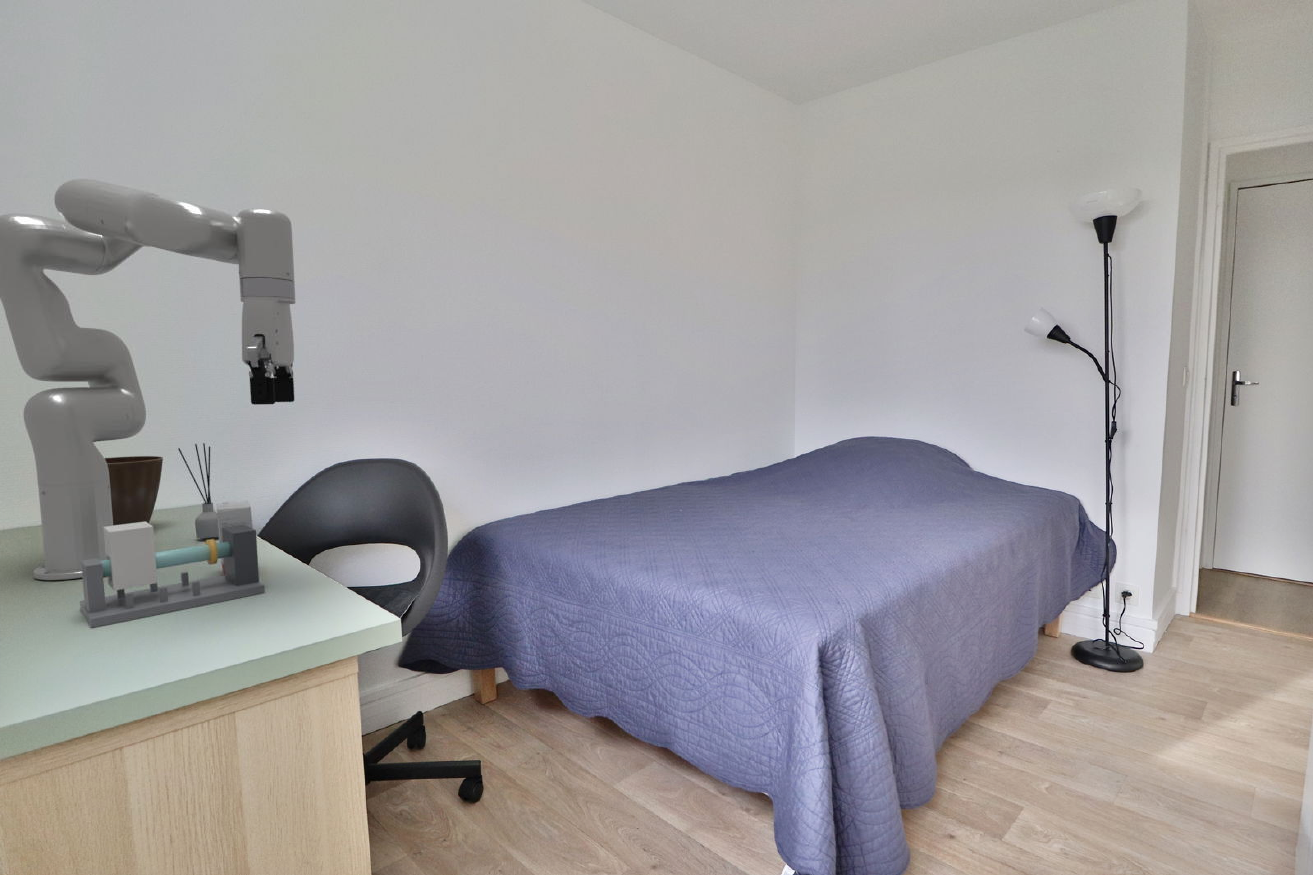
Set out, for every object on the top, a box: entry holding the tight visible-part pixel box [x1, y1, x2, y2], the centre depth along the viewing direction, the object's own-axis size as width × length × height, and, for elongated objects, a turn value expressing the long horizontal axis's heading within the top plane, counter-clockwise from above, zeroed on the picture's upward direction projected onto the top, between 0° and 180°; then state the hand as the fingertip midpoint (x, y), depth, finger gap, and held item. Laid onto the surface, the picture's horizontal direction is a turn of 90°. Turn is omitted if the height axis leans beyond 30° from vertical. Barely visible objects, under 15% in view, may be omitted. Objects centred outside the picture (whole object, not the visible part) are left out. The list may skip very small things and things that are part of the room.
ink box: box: [215, 500, 254, 575], centre depth 120 cm, size 9×5×12 cm, turn 33°
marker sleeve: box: [103, 522, 158, 591], centre depth 102 cm, size 5×5×8 cm
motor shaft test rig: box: [79, 525, 265, 628], centre depth 105 cm, size 21×11×9 cm, turn 135°
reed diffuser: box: [177, 442, 219, 539], centre depth 146 cm, size 10×7×20 cm
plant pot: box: [104, 455, 164, 526], centre depth 154 cm, size 15×15×16 cm
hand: (273, 403), depth 112 cm, fingers open, 9 cm apart
